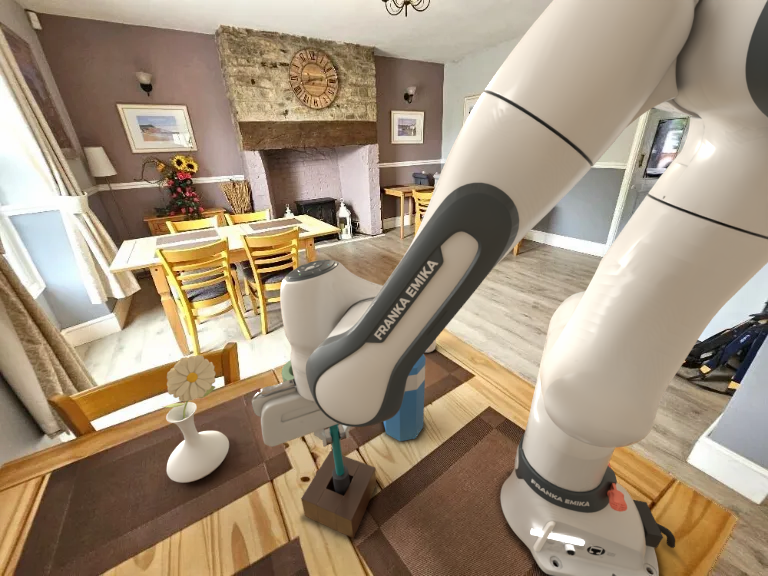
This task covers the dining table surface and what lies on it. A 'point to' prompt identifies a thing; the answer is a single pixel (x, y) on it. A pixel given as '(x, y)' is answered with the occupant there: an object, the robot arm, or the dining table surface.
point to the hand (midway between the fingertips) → (335, 438)
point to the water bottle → (410, 406)
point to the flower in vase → (198, 448)
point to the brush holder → (340, 496)
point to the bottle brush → (339, 464)
